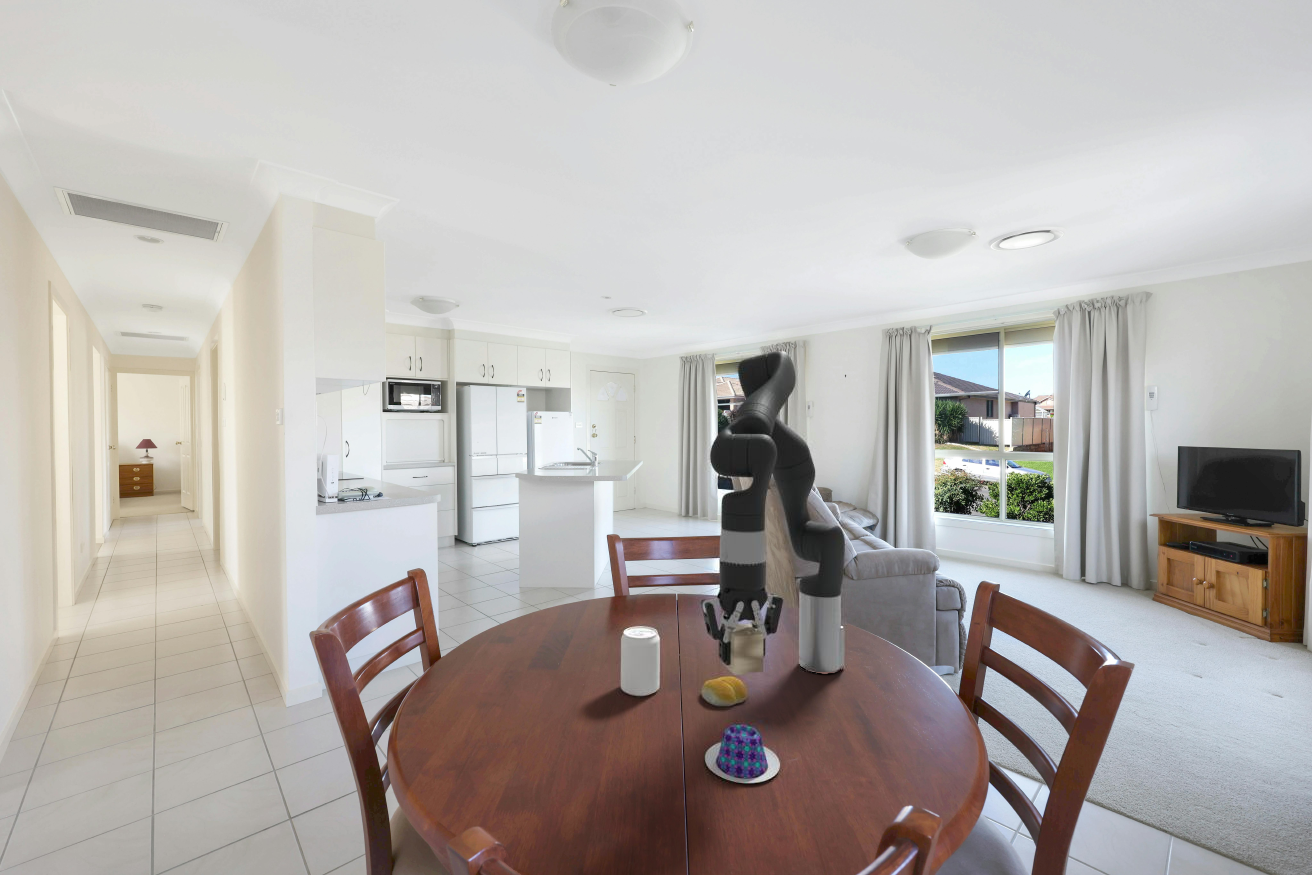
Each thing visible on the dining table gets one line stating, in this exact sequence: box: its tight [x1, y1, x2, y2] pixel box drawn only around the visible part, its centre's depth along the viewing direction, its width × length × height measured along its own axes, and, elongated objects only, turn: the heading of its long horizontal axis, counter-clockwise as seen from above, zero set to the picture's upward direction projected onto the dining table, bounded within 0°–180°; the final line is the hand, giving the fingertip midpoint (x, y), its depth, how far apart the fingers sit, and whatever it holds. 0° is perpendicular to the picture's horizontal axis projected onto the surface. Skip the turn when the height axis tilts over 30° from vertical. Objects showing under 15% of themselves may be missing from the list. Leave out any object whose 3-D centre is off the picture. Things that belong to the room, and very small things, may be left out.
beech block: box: [721, 623, 764, 676], centre depth 90 cm, size 5×5×6 cm
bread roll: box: [701, 675, 748, 707], centre depth 113 cm, size 8×9×4 cm
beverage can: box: [620, 625, 661, 697], centre depth 116 cm, size 8×8×12 cm
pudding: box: [704, 724, 781, 784], centre depth 90 cm, size 12×12×5 cm
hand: (741, 660), depth 90 cm, fingers closed on beech block, 5 cm apart
